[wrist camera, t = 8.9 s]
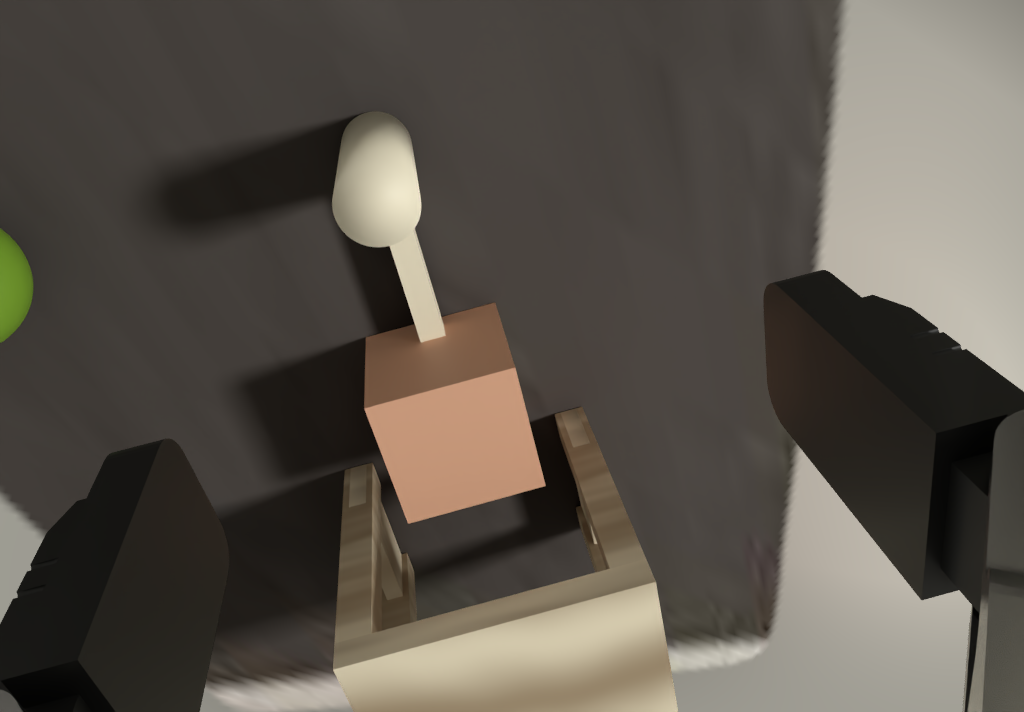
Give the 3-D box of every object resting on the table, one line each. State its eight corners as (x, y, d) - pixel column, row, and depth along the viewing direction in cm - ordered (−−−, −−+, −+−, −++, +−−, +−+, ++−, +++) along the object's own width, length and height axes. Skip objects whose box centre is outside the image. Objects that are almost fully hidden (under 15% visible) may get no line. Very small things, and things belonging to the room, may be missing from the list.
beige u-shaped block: (344, 469, 39) (333, 669, 29) (581, 406, 39) (655, 581, 29) (388, 578, 43) (392, 790, 32) (605, 520, 43) (678, 711, 33)
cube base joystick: (291, 132, 31) (269, 188, 25) (440, 92, 31) (456, 138, 25) (404, 442, 39) (409, 548, 32) (523, 410, 39) (552, 508, 33)
